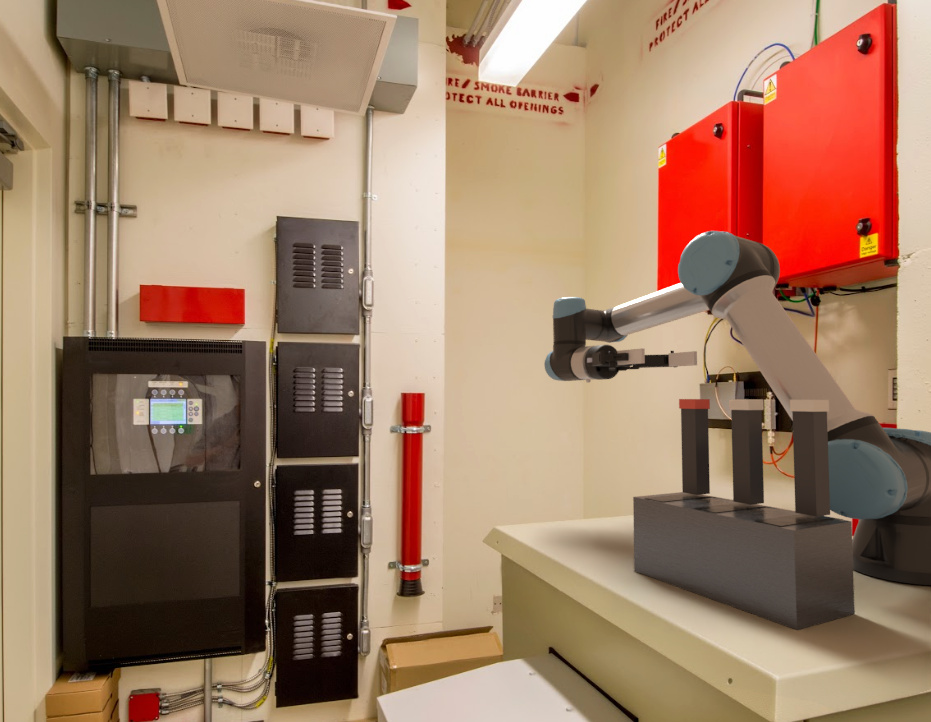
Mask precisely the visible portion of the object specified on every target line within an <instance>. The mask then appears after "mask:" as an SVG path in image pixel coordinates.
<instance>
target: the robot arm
mask: <svg viewBox="0 0 931 722" xmlns="http://www.w3.org/2000/svg"><path fill="white" fill-rule="evenodd" d="M780 267H781V266H780V261H779V258H778V257H777V255H776V254H775V252H774V251H773V250H772V248H770V247H769V246H767V245H765V244H763V243H761V242H758V241H755V240H754V241H753V240H750V239H747V238H744V237H740V236H737V235H734V234H733V233H730V232H728V231H724V230H723V231H720V230H709V231H705V232H702V233H700V234H698V235H696V236H695V237H694V238H693V239H692V240H690V241H689V243H687V245H686V246H685V247H684V249H683V251H682V253H681V255H680V258H679V263H678V266H677V274H678V279H679V281H680V282H679V283H676V284H672V285H671V286H667V287H665V288H662V289H660V290H657V291H654V292H651V293H649V294H646V295H643V296H640V297H638V298H634V299H632V300H629V301H626V302H624V303H621V304H619V305H616V306H613V307H610V308H607V309H605V310H602V309H601V310H599V309H594V308H593V309H591V308H587V305H586V300H585V299H584V298H582V297H578V296H567V297H566V296H565V297H560V298H557V299H555V300H554V302H553V308H552V321H553V324H552V326H553V327H552V328H553V329H552V332H553V333H552V335H553V344H552V351H550V352H549V353H547V355H546V358H545V359H544V364H543V365H544V370H545V373H546V375H548V377H550V378H551V379H552V380H553V381H558V382H559V381H561V382H570V381H571V382H572V381H573V382H574V381H585V382H586V383H591V381H593V380H610V379H613V378H614V377H616V376H617V375H618V373H619V372H621V371H622V372H625V371H627V370H640V369H641V368H646V369H647V368H678V367H688V366H689V367H690V366H698V351H697V350H696V351H695V350H693V351H682V352H679V351H678V352H675V351H674V350H670V353H668V354H645V348H633V349H632V348H630V349H623V350H621V349H620V350H617V349H616V348H615V347H614V346H612V345H611V344H598V345H589V346H587V342H586V341H595V342H604V343H619V342H622V341H624V340H625V339H626V338H627V337H628V336H629V335H631V334H634V333H638V332H642V331H644V330H649V329H652V328H654V327H658V326H661V325H665V324H667V323H671V322H674V321H678V320H680V319H684V318H688V317H690V316H693V315H694V316H695V315H697V314H701V313H704V312H707V311H710V313H711V314H712V316H713V317H714V318H717V319H723V320H726V321H727V322H728V325H730V327H731V329H732V330H733V331H734V333H735V335H736V336H737V338H738V339H739V341H740V342H741V344H742V346H743V347H744V348H745V350H746V351H747V353H748V354H749V356H750V358H751V359H752V361H753V362H754V364H755V365H756V366H757V369H758V370H759V371H760V373H761V375H762V376H763V377H764V379H765V381H766V382H767V384H768V385H769V387H770V388H771V391H772V392H773V393H774V395H775V396H776V398H777V399H778V401H779V402H780V404H781V405H782V407H783V408H784V410H785V412H786V413H787V415H788V417H789V418H790V420H791V421H792V422H793V414H792V411H790V400H829V411H827V431H828V461H829V492H830V512H833V513H834V514H836V515H839V516H843V517H844V518H849V519H854V520H858V523H857V525H856V528H855V531H854V534H853V535H852V551H853V571H856V572H858V573H862V574H864V575H867V576H871V577H874V578H879V579H882V580H887V581H891V582H892V581H893V582H897V583H904V584H905V583H906V584H912V585H920V586H921V585H922V586H923V585H924V586H931V431H926V430H917V429H916V430H914V429H908V428H893V427H882V425H881V424H880V423H879V421H878V420H877V418H876V417H875V415H874V414H872V413H869V412H864V411H859V410H858V409H856V408H855V407H854V405H853V403H852V402H851V400H850V399H849V398H848V396H847V395H846V394H845V392H844V391H843V389H842V388H841V387H840V386H839V383H837V381H836V380H835V378H834V377H833V376H832V374H831V372H829V370H828V369H827V367H826V365H824V363H823V362H822V360H821V359H820V357H819V356H818V355H817V354H816V352H815V350H814V349H813V348H812V346H811V344H809V342H808V341H807V339H806V338H805V337H804V335H803V334H802V333H801V331H800V330H799V328H798V327H797V325H796V324H795V322H794V321H793V320H792V318H791V317H790V316H789V314H788V312H787V311H786V310H785V309H784V307H783V306H782V305H781V303H780V301H779V300H778V298H776V295H774V293H773V291H774V288H775V287H776V286H777V284H778V281H779V279H780V273H781V268H780Z"/></svg>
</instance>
